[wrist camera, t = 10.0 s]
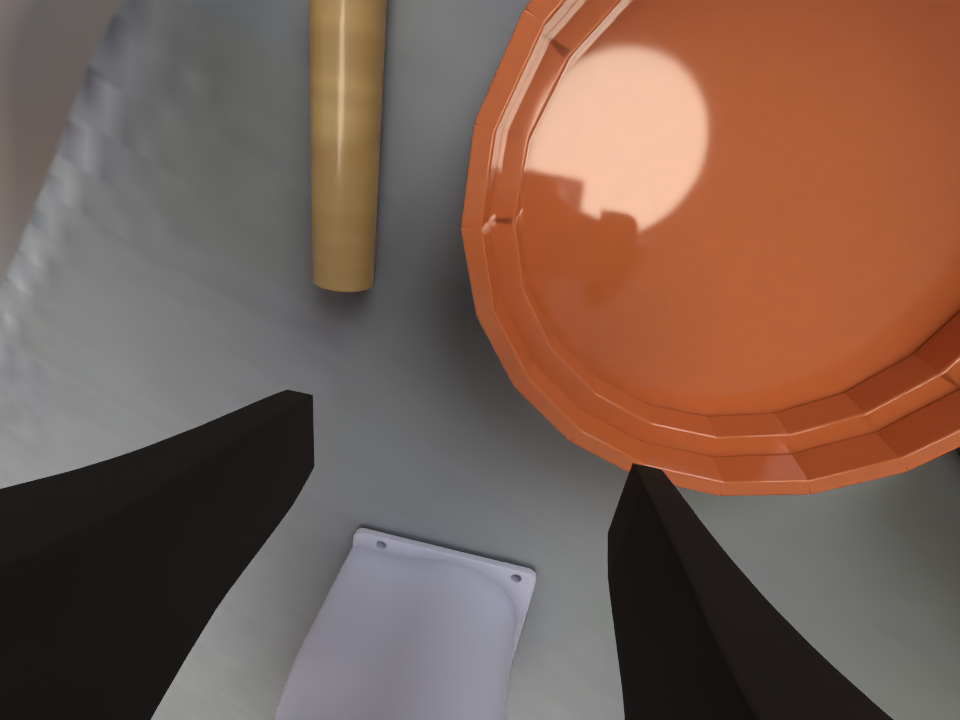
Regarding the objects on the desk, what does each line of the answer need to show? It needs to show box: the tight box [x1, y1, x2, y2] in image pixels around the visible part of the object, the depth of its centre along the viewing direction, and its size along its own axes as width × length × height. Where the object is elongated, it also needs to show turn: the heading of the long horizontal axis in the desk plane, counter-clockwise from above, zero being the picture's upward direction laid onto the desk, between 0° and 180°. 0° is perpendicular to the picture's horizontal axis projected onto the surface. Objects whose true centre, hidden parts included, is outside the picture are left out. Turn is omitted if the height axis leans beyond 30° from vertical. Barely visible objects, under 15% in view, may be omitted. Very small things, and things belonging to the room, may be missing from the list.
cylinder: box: [309, 0, 387, 292], centre depth 16 cm, size 10×2×2 cm, turn 172°
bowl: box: [461, 0, 960, 496], centre depth 14 cm, size 17×17×4 cm
